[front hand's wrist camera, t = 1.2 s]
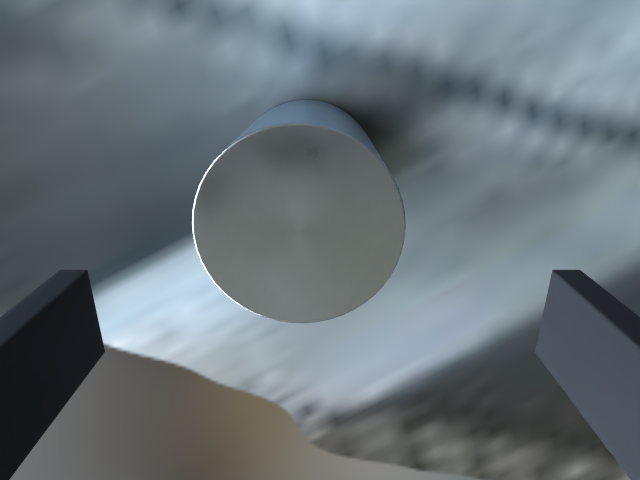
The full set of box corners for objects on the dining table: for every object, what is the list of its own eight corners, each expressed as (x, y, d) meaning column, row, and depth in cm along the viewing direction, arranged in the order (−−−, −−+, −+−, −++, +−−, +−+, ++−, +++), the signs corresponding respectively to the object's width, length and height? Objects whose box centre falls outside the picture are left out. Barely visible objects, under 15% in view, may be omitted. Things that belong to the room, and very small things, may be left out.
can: (222, 113, 28) (163, 145, 17) (365, 86, 27) (393, 103, 17) (255, 245, 31) (222, 337, 21) (383, 223, 30) (415, 307, 20)
